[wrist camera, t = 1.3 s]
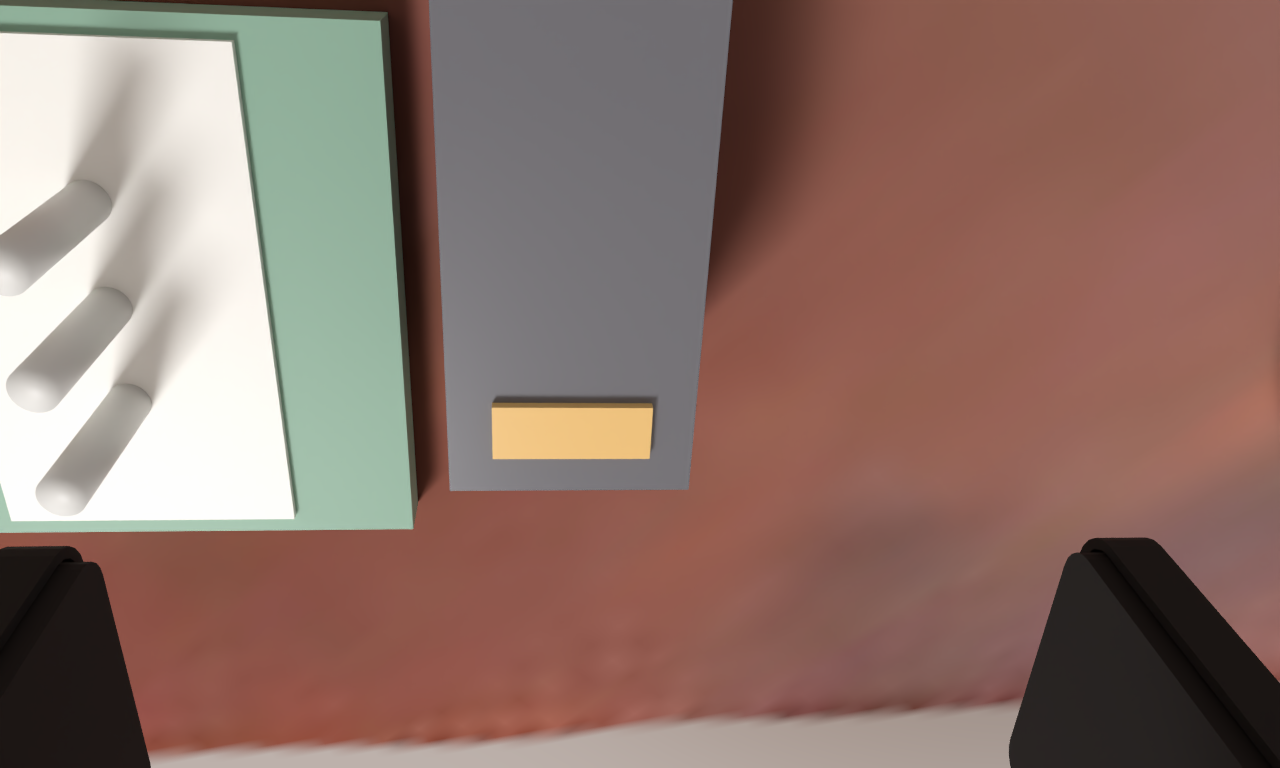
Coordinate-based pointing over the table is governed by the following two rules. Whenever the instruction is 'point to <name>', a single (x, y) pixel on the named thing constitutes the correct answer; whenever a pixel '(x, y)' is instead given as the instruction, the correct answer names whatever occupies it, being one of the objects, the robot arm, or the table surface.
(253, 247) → the header board
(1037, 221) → the table surface
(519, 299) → the block
